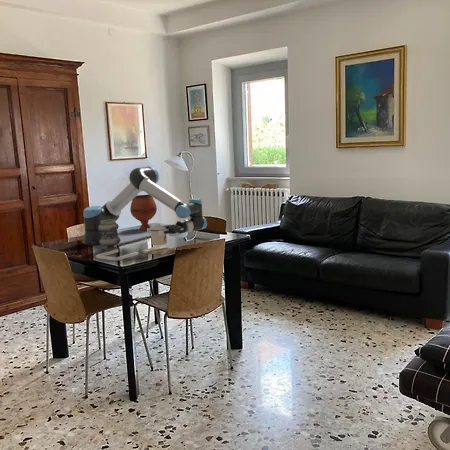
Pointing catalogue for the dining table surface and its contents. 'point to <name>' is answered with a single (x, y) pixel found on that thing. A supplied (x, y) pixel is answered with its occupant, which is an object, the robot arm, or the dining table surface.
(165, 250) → the oak board
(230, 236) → the dining table surface
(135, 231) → the dining table surface
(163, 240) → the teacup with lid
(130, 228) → the dining table surface
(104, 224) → the apothecary jar
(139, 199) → the goblet
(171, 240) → the dining table surface
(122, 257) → the cup dock
